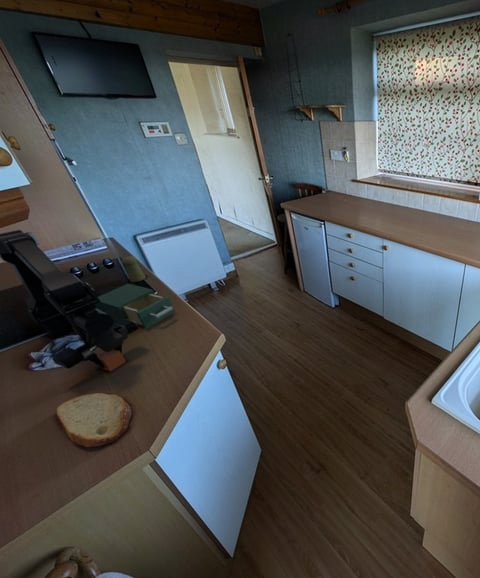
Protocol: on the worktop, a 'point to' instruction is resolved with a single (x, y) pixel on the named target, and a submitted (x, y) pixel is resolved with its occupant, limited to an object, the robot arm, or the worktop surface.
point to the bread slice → (94, 418)
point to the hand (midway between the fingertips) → (111, 362)
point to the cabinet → (121, 300)
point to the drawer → (148, 310)
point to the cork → (133, 269)
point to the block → (111, 359)
